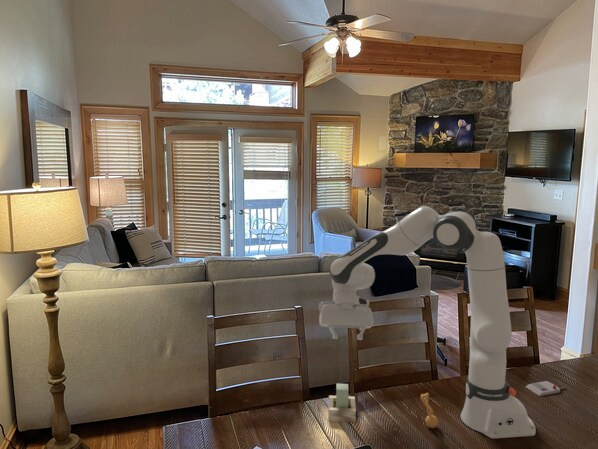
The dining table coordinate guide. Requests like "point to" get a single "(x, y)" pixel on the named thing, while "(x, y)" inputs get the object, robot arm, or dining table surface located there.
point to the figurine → (430, 419)
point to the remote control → (543, 388)
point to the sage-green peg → (341, 395)
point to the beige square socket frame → (342, 410)
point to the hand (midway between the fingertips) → (347, 339)
